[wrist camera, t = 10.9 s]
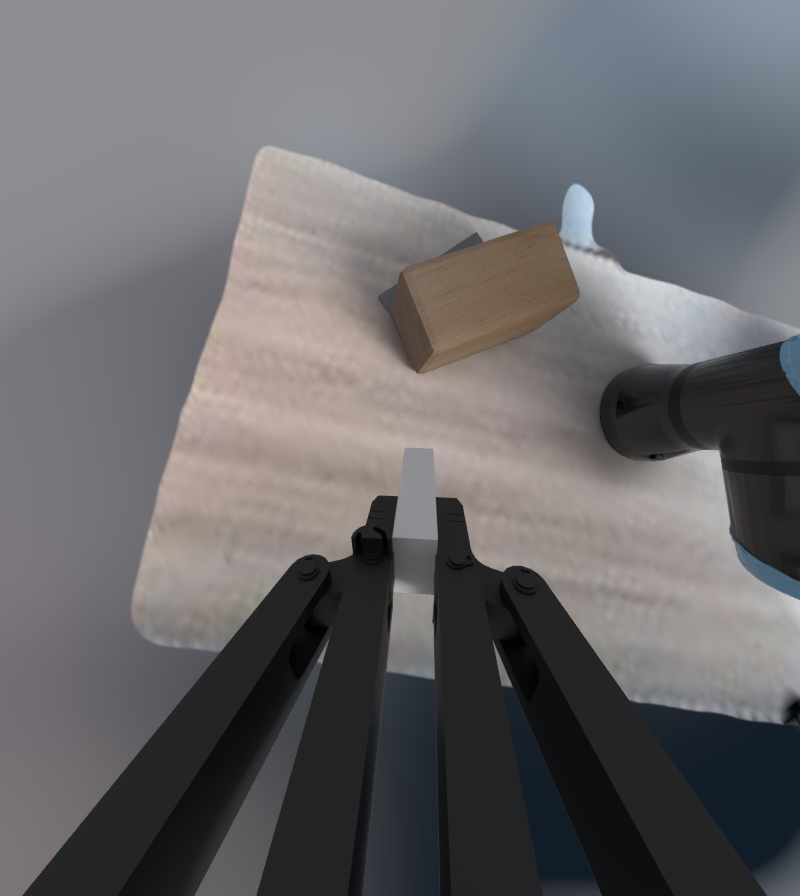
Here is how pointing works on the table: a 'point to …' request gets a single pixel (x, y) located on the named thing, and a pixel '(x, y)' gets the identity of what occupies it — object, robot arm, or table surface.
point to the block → (482, 296)
